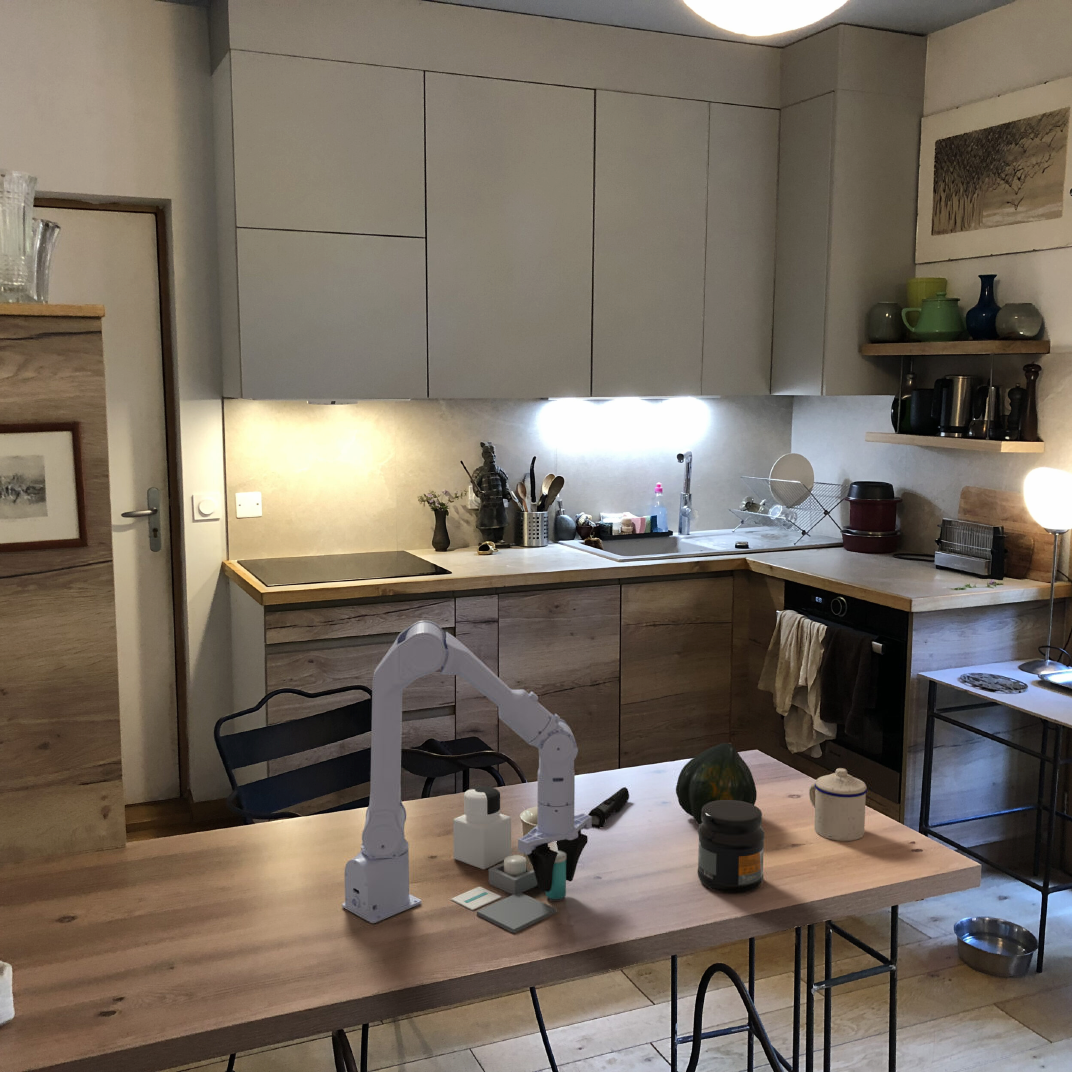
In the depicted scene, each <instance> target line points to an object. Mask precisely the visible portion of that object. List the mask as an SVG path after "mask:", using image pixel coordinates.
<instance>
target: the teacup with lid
mask: <svg viewBox="0 0 1072 1072" xmlns="http://www.w3.org/2000/svg"><path fill="white" fill-rule="evenodd" d="M834 771H835V772H833V773H831V774H826V775H823V776H820V777H818V778H817V779H815V782H814V783H813V784H811V785H810V786H809V791H808V796H809V800H810V802H811V805H812V807H813V808H814V823H813V825H814V826H813V827H814V828H813V829H814V831H815V832H816V833H817V834H818V835H820V836H821V837H823V838H825V839H829V840H834V841H839V842H849V841H850V842H852V841H857V840H859V839H862V837H863V836H864V834H865V823H866V822H865V819H866V815H865V814H866V797H867V795H866V794H867V792H868V787H867V785H866V783H865V782H864V781H863V780H861V779H859V778H857V777H854V776H853V775H850V774H848V770H847V769H846V768H844V767H843V768H842V767H839V768H836V770H834Z"/></svg>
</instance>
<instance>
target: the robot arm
mask: <svg viewBox="0 0 1072 1072" xmlns="http://www.w3.org/2000/svg"><path fill="white" fill-rule="evenodd" d="M445 634H446V635H445ZM439 669H440V675H441V676H460V677H461V678H463V680H465V681H466V682H468V683H469V684H470V685H471V686H472V687H473V688H475V689H476V690H478V691H479V692H480V693H481V694H482V695H484V696H485V697H486V698H487V699H488V700H490V702H493V703H494V704H495V705H496V706H497V708H498V718H499V719H500V720H501V722H503V723H504V724H505V725H507V726H508V728H510V729H511V731H513V732H514V733H515V734H517V735H518V736H519V737H520V738H521V739H523V741H525V742H526V743H527V744H528V745H530V746H532V747H535V748H537V749H538V770H537V824H536V826H534V827H533V828H532V829H531V830H530V831H529V832H527V833H526V834H524V836H521V837H519V838H518V839H517V844H518V845H517V851H518V852H519V853H521V854H524V855H526V857H527V858H528V861H529V862H530V864H532V867H533V870H534V873H535V876H536V880H537V884H538V885H537V888H538V889H539V890H542V891H544V892H545V891H546V892H549V891H551V887H552V873H553V867H554V862H555V859H556V857H557V854H558V853H557V852H555V851H554V850H553V849H551V847H550V846H549V844H551V843H553V842H555V843H556V846H557V851H562V852H565V853H566V882H567V881H568V882H572V881H573V880H574V878H575V874H576V870H577V866H578V862H579V859H580V858H581V855H582V853H583V850H584V849H585V846H586V845H587V844H588V839H589V837H588V835H586V834H583V833H582V830H590V829H592V828H593V827H592V817H591V816H589V815H588V814H585V813H580V814H577V815H575V795H576V794H575V793H576V792H575V787H576V786H575V785H576V784H575V775H576V773H575V769H574V768H575V767H574V766H575V759H576V758H577V757H578V754H579V753H578V752H579V748H578V746H577V741H576V739H575V736H574V734H573V731H572V729H571V728H570V726H569V725H568V724H567V722H566V721H565V720H564V719H561V717H560V716H559V715H558V714H557V713H554V714H553V713H551V712H550V711H549V710H548V709H547V708H545V706H544V705H542V704H541V703H540V702H539V701H538V700H539V697H538V695H537V694H536V693H534V691H530V692H527V691H526V689H512V688H510V687H509V686H508V685H507V684H506V683H505V682H504V681H503V680H502V679H501V678H499V677H498V676H497V674H495V673H494V672H493V671H492V670H491V669H490V668H489V666H487V665H486V664H485V663H484V662H483V661H482V660H481V659H480V658H478V656H476V654H474V653H473V652H472V651H471V650H470V649H469V648H468V647H467V646H466V645H464V644H463V643H462V642H461V641H460V640H458V639H457V638H456V637H455V636H454V635H452V634H451V633H450V632H448V631H446V632H445V633H444V630H443V628H442V627H440V625H438V624H437V623H436V622H434V621H432V620H431V621H430V620H420V621H419V620H418V621H416V622H414V623H413V624H411V625H410V626H409V627H407V628H405V629H404V630H403V631H401V632H400V633H399V634H398V635H397V637H396V639H395V641H394V642H393V644H392V645H391V647H390V648H389V649H388V651H387V652H386V654H385V655H384V656H383V657H382V660H381V661H380V662H379V663H378V665H377V666H376V668H375V670H374V671H373V677H372V684H371V685H372V687H371V688H372V689H371V690H372V691H371V696H372V697H371V738H370V739H371V740H370V741H371V742H370V743H371V744H370V746H371V748H370V790H369V791H370V793H369V805H368V806H367V809H366V812H365V821H364V826H363V830H362V834H361V841H362V842H361V845H360V851H359V852H358V853H357V854H356V855H355V856H354V857H353V858H351V859H350V860H348V861H347V862H346V864H345V867H344V902H343V903H342V904H341V907H342V908H344V909H346V910H347V911H349V912H351V913H353V914H354V915H356V916H358V917H360V918H361V919H363V920H365V921H367V922H369V923H371V924H376V923H378V922H380V921H383V920H385V919H387V918H390V917H392V916H396V915H397V914H400V913H402V912H404V911H407V910H409V909H411V908H413V907H416V906H419V905H421V904H422V900H421V899H420V898H419V897H416V896H415V895H412V894H411V893H410V859H409V858H410V855H409V854H410V852H409V847H410V846H409V845H410V844H409V841H408V840H406V838H405V824H406V822H407V821H406V820H407V811H406V808H405V805H404V803H403V802H402V797H401V796H402V795H401V793H402V791H401V789H402V788H401V787H402V786H401V778H402V777H401V775H402V774H401V770H402V769H401V768H402V733H403V730H402V728H403V727H402V724H403V721H402V720H403V690H404V689H406V688H407V687H408V686H410V685H411V684H412V683H413V682H414V681H416V680H417V679H419V678H422V677H426V676H428V675H431V674H433V673H435V672H437V671H438V670H439ZM556 841H557V842H556Z"/></svg>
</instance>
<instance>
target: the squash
mask: <svg viewBox="0 0 1072 1072" xmlns="http://www.w3.org/2000/svg"><path fill="white" fill-rule="evenodd" d="M675 792H676V797H677V800H678V804H679V807H680V808H681V809H682V810H684V812H685V813H686V814H688V815H689V816H691V817H693V819H694V821H695V823H697V824H698V825H699V826H700V824H701V823H702V820H701V819H702V807H703V806H704V805H705V804H707V803H709V802H712V801H717V800H737V801H743V802H747V803H750V804H752V805H755V804H756V802H757V794H758V793H757V788H756V784H755V780H754V776H753V773H752V772H751V769H750V767H749V766H748V764H747V763H746V762H745V760H744V759H743V758H742V757H741V754H739V752H738V750H737V749H736V747H735V746H733V744H732V743H731V742H728V743H726V742H725V743H719V744H717V745H714V746H712V747H710V748H708V749H706V750H704V751H702V752H701V753H699V754H697V755H696V756H695V757H693V758H692V759H690V760H689V761H688V762H686V764H685V765H684V766H683V768H682V769H681V771H680V773H679V775H678V778H677V783H676V786H675ZM755 806H756V805H755Z"/></svg>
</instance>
